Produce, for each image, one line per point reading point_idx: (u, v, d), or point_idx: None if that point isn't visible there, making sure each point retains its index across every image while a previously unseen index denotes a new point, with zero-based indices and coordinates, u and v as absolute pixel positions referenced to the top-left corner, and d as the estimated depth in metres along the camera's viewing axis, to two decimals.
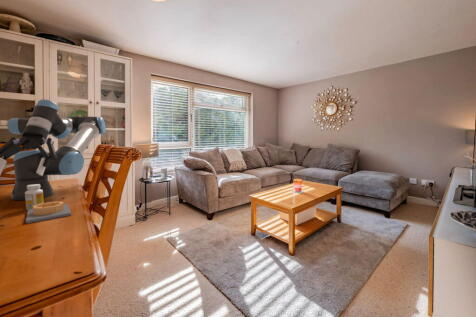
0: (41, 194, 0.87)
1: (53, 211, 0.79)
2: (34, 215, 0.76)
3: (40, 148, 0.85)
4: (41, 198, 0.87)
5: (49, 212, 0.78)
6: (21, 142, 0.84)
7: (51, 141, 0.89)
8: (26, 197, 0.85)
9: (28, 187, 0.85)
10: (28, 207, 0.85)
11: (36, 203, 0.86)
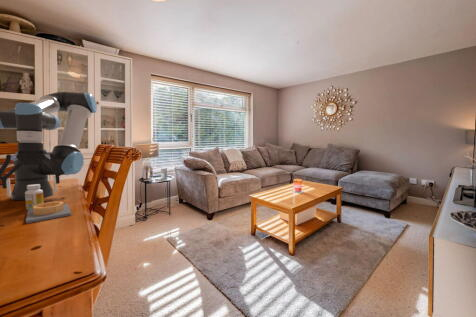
0: (41, 194, 0.87)
1: (53, 211, 0.79)
2: (34, 215, 0.76)
3: (47, 166, 0.88)
4: (41, 198, 0.87)
5: (49, 212, 0.78)
6: (23, 161, 0.83)
7: (53, 156, 0.90)
8: (26, 197, 0.85)
9: (28, 187, 0.85)
10: (28, 207, 0.85)
11: (36, 203, 0.86)
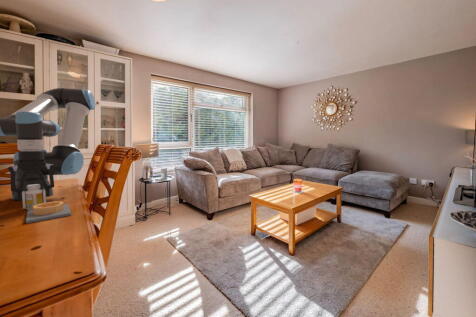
0: (41, 194, 0.87)
1: (53, 211, 0.79)
2: (34, 215, 0.76)
3: (42, 177, 0.87)
4: (41, 198, 0.87)
5: (49, 212, 0.78)
6: (26, 170, 0.84)
7: (53, 168, 0.90)
8: (26, 197, 0.85)
9: (28, 187, 0.85)
10: (28, 207, 0.85)
11: (36, 203, 0.86)
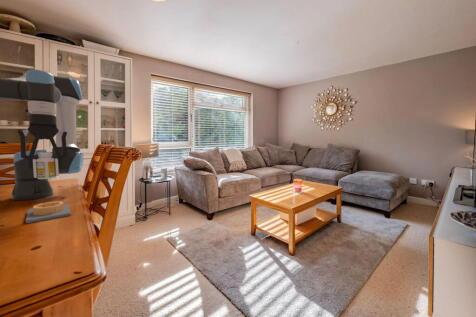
0: (53, 163, 0.80)
1: (53, 211, 0.79)
2: (34, 215, 0.76)
3: (54, 144, 0.80)
4: (53, 167, 0.80)
5: (49, 212, 0.78)
6: (38, 135, 0.76)
7: (66, 135, 0.83)
8: (37, 165, 0.77)
9: (39, 154, 0.77)
10: (39, 176, 0.77)
11: (48, 172, 0.78)
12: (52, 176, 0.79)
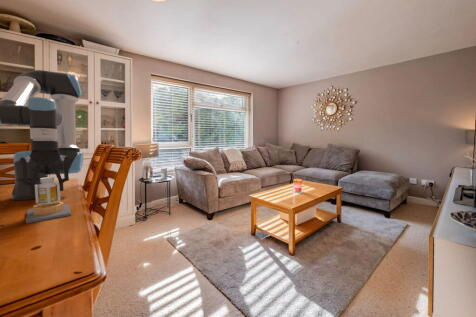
0: (55, 188, 0.81)
1: (53, 211, 0.79)
2: (34, 215, 0.76)
3: (56, 169, 0.81)
4: (55, 192, 0.81)
5: (49, 212, 0.78)
6: (39, 162, 0.77)
7: (67, 159, 0.83)
8: (39, 191, 0.78)
9: (41, 180, 0.78)
10: (41, 202, 0.78)
11: (50, 197, 0.79)
12: (54, 201, 0.80)
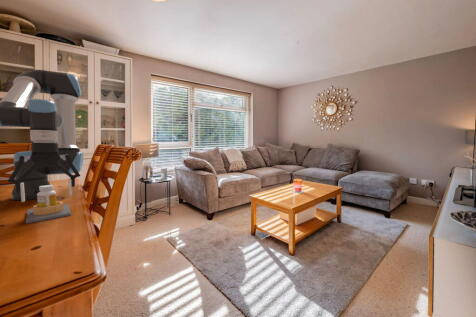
0: (54, 196, 0.81)
1: (53, 211, 0.79)
2: (34, 215, 0.76)
3: (62, 168, 0.82)
4: (54, 200, 0.81)
5: (49, 212, 0.78)
6: (37, 163, 0.77)
7: (69, 157, 0.84)
8: (38, 199, 0.78)
9: (40, 188, 0.78)
10: None
11: (49, 205, 0.79)
12: None
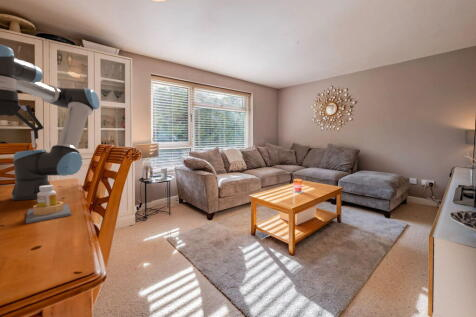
0: (54, 196, 0.81)
1: (53, 211, 0.79)
2: (34, 215, 0.76)
3: (23, 118, 0.81)
4: (54, 200, 0.81)
5: (49, 212, 0.78)
6: None
7: (30, 108, 0.82)
8: (38, 199, 0.78)
9: (41, 188, 0.78)
10: None
11: (49, 206, 0.79)
12: None
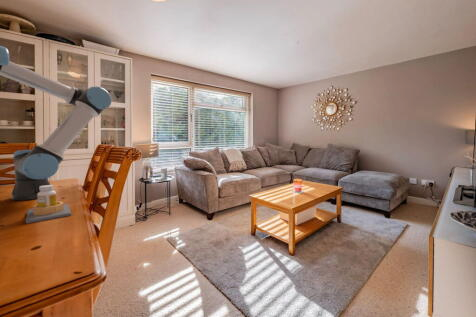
0: (54, 196, 0.81)
1: (53, 211, 0.79)
2: (34, 215, 0.76)
3: None
4: (54, 200, 0.81)
5: (49, 212, 0.78)
6: None
7: None
8: (38, 199, 0.78)
9: (41, 188, 0.78)
10: None
11: (49, 206, 0.79)
12: None
